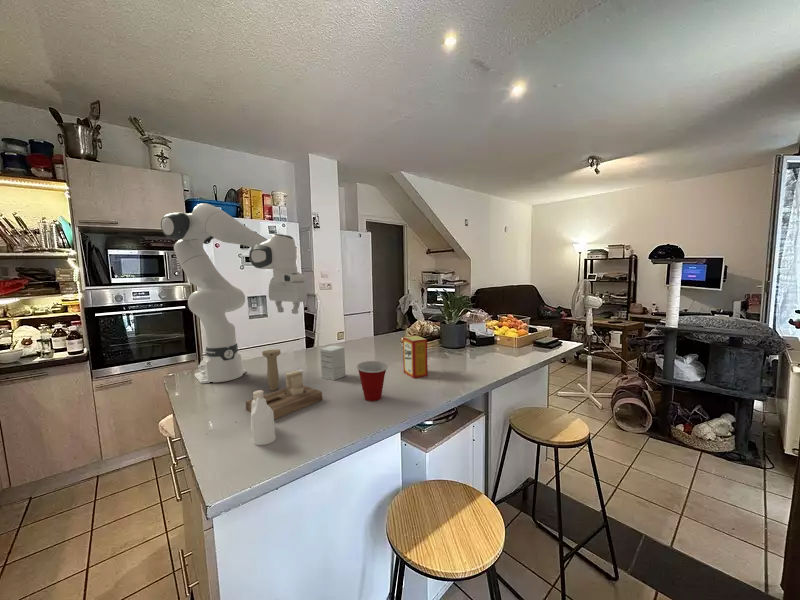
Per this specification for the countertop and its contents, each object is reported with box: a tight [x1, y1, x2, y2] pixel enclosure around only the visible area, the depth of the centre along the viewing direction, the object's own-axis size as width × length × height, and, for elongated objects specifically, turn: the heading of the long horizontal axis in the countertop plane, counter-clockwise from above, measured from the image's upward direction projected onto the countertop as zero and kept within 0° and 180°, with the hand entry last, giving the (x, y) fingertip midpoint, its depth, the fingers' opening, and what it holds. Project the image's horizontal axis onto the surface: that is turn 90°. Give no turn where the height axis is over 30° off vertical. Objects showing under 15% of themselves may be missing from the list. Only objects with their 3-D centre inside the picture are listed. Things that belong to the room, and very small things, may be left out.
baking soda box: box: [402, 335, 429, 379], centre depth 139 cm, size 10×6×16 cm
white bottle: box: [250, 389, 267, 432], centre depth 94 cm, size 5×5×11 cm
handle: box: [262, 349, 281, 391], centre depth 125 cm, size 5×6×15 cm
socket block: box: [245, 385, 323, 420], centre depth 111 cm, size 14×20×3 cm
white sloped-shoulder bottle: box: [250, 398, 276, 446], centre depth 87 cm, size 6×12×6 cm
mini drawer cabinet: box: [319, 345, 347, 381], centre depth 139 cm, size 7×7×13 cm
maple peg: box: [285, 370, 304, 397], centre depth 114 cm, size 4×4×10 cm
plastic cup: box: [356, 360, 389, 402], centre depth 114 cm, size 11×11×12 cm
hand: (287, 313), depth 126 cm, fingers open, 8 cm apart
